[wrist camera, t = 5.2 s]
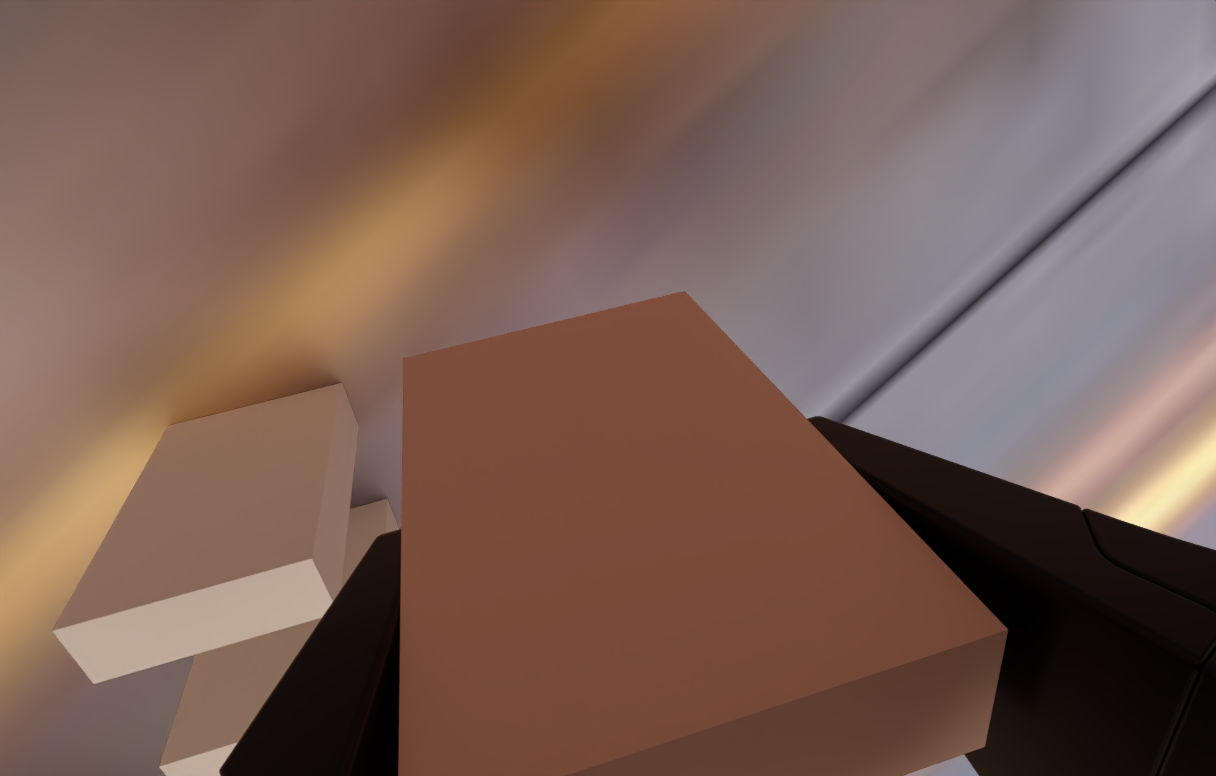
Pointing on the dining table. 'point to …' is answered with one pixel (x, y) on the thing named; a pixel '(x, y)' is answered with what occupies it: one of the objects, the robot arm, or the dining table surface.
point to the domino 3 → (662, 571)
